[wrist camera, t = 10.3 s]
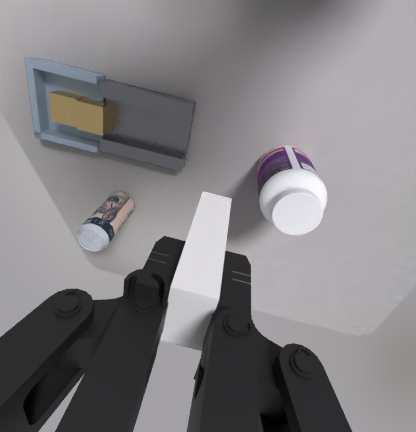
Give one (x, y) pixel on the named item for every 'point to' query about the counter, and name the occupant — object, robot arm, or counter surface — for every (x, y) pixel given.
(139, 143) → the slot rail
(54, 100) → the tan small block
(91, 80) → the chip tray
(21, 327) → the robot arm
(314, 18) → the counter surface
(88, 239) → the beer can
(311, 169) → the pill bottle
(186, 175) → the counter surface
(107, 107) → the block
